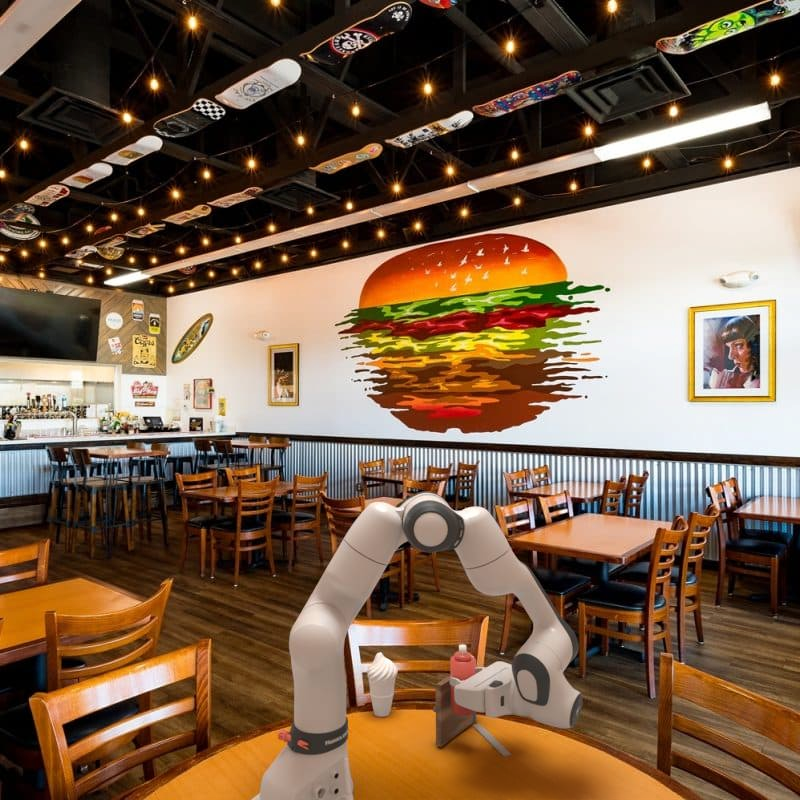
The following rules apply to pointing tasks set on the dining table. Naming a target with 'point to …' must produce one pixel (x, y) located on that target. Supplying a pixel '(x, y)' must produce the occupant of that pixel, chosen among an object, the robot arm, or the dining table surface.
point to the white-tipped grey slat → (489, 736)
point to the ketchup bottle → (461, 676)
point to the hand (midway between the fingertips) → (460, 675)
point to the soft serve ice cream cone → (382, 684)
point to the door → (447, 714)
